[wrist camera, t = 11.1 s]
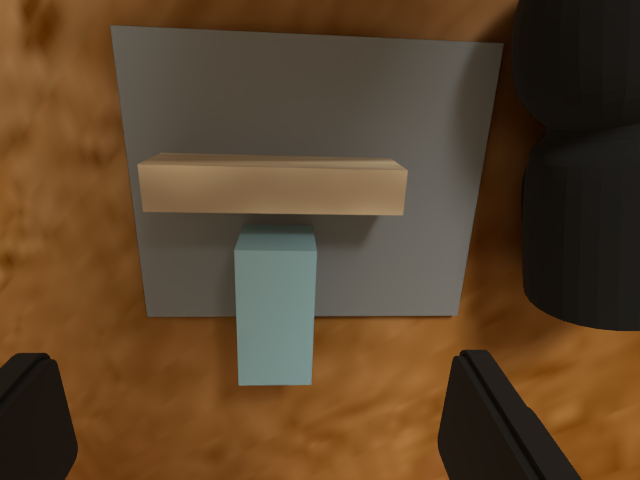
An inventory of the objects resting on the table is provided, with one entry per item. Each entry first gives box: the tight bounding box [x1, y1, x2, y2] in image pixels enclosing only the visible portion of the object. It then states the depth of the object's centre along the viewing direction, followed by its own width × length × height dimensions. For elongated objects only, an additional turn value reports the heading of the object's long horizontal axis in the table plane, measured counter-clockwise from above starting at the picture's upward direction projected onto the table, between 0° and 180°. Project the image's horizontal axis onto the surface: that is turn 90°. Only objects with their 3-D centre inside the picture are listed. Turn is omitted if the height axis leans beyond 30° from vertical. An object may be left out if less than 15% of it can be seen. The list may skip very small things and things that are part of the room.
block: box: [234, 224, 317, 386], centre depth 26 cm, size 4×4×9 cm
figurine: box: [511, 0, 640, 331], centre depth 22 cm, size 9×9×20 cm
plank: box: [137, 153, 408, 215], centre depth 24 cm, size 2×14×4 cm, turn 88°
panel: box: [110, 25, 504, 317], centre depth 26 cm, size 18×22×1 cm
